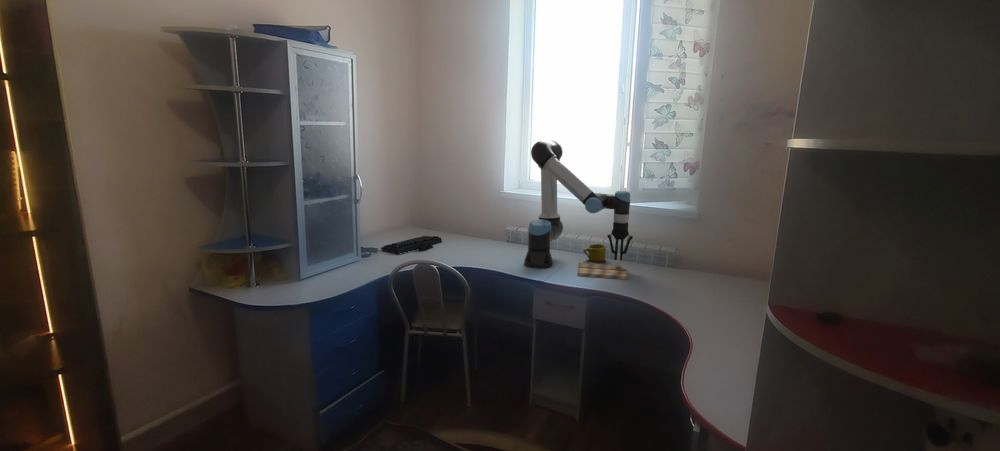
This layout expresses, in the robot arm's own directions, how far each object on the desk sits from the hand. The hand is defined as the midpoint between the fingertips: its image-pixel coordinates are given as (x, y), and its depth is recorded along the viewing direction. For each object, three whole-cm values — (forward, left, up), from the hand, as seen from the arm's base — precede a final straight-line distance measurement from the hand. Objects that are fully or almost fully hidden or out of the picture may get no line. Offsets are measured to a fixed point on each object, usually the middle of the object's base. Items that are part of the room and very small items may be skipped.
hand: (617, 266), depth 247 cm
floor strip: (-8, -11, -2) cm, 14 cm away
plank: (-8, -2, -2) cm, 8 cm away
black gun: (-116, +17, -3) cm, 118 cm away
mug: (-12, +15, -2) cm, 19 cm away
